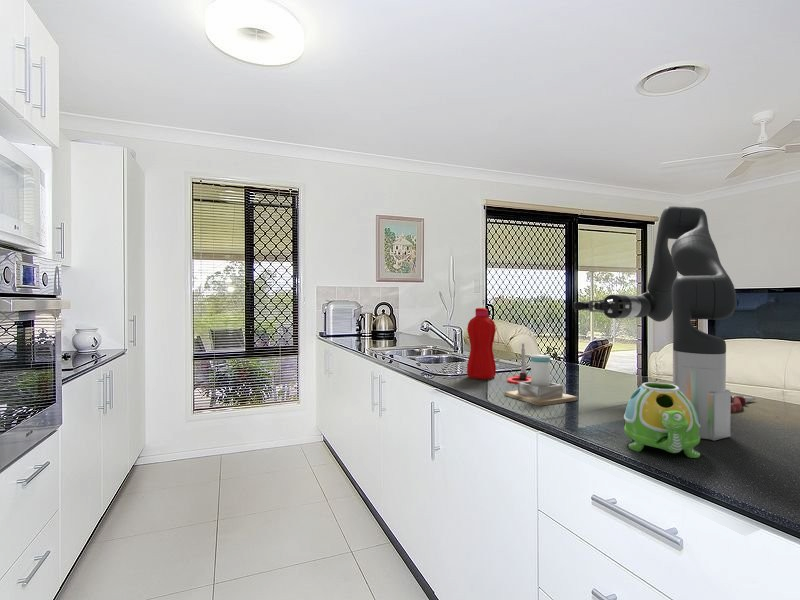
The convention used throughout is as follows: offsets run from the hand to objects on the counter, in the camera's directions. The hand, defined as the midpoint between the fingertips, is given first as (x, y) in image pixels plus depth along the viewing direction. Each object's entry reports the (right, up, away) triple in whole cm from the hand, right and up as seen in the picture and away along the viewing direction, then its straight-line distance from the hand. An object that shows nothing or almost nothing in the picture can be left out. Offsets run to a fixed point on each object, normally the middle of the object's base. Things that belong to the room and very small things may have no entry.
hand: (586, 306), depth 127 cm
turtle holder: (-6, -27, -47) cm, 54 cm away
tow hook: (-14, -26, +19) cm, 36 cm away
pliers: (+34, -27, -13) cm, 45 cm away
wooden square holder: (-15, -26, -5) cm, 31 cm away
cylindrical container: (-15, -25, -4) cm, 30 cm away
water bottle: (-25, -26, +26) cm, 45 cm away
